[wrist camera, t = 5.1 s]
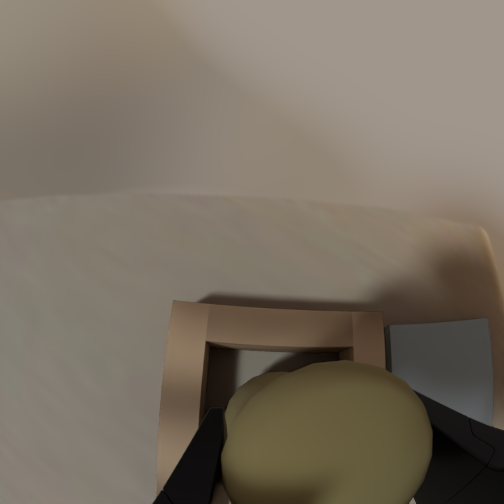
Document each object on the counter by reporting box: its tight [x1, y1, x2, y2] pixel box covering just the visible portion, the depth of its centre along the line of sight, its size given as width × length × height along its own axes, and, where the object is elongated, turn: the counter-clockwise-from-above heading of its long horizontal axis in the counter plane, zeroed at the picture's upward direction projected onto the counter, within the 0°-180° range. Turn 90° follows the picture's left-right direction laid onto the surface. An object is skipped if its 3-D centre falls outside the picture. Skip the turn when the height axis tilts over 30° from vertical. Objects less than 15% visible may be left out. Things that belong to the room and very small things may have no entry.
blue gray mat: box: [384, 318, 493, 426], centre depth 15 cm, size 12×12×1 cm
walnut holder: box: [157, 300, 386, 504], centre depth 14 cm, size 13×13×2 cm
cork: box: [221, 360, 433, 504], centre depth 8 cm, size 6×6×11 cm
